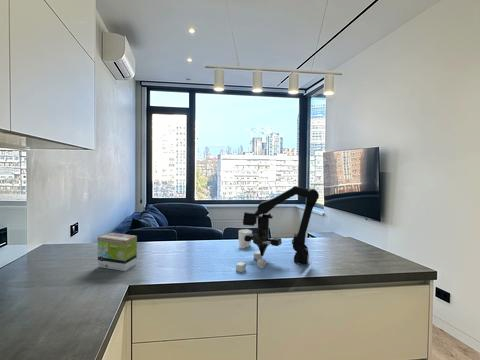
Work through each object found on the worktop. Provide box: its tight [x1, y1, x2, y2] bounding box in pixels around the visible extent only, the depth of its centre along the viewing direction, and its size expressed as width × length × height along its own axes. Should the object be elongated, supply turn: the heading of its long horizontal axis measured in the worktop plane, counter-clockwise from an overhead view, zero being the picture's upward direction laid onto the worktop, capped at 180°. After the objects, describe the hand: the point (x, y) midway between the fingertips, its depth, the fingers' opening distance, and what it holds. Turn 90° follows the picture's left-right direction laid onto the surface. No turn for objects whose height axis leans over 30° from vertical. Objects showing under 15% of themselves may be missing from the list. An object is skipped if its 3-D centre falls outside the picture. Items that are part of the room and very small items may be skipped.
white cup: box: [238, 229, 253, 249], centre depth 189 cm, size 8×8×10 cm
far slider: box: [253, 250, 263, 261], centre depth 166 cm, size 3×4×3 cm
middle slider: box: [256, 258, 267, 269], centre depth 154 cm, size 3×4×3 cm
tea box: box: [97, 232, 138, 272], centre depth 151 cm, size 15×10×15 cm, turn 76°
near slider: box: [235, 261, 247, 273], centre depth 148 cm, size 3×4×3 cm
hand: (262, 256), depth 165 cm, fingers closed
